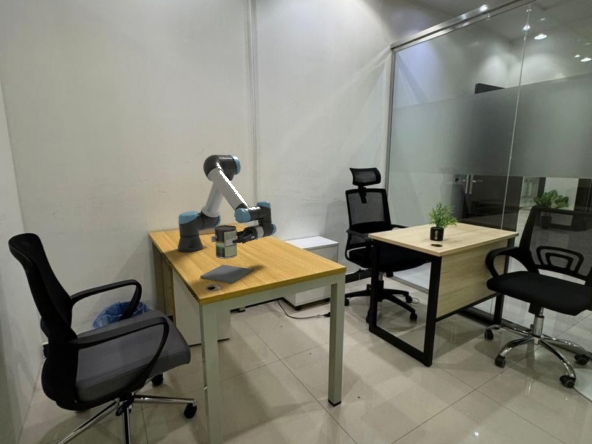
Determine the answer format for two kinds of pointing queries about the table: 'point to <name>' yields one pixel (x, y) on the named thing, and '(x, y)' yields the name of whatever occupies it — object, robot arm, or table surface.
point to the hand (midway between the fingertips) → (218, 241)
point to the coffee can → (220, 241)
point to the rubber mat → (226, 273)
